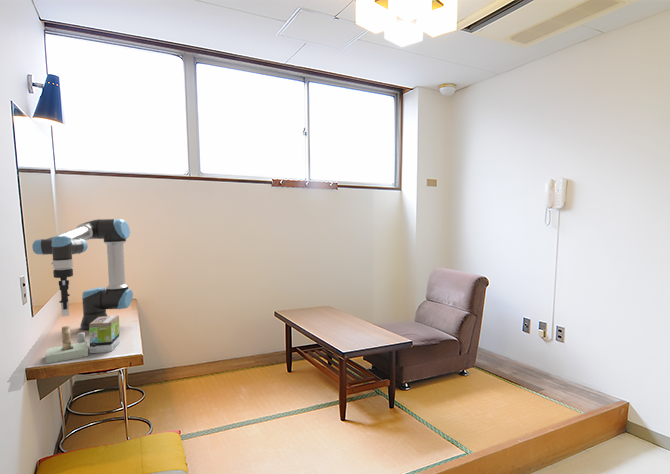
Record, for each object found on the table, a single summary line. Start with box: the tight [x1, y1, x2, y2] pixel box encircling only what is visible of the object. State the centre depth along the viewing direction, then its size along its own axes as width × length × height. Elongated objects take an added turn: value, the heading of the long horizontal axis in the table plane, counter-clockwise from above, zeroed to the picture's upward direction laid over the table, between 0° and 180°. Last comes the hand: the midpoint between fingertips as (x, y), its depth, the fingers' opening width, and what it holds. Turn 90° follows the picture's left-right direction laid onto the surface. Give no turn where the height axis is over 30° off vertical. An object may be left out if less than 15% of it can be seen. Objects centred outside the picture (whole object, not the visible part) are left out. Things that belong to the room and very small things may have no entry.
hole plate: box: [45, 341, 89, 364], centre depth 182 cm, size 16×12×4 cm
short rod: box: [77, 331, 86, 343], centre depth 194 cm, size 3×3×7 cm
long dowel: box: [61, 325, 72, 351], centre depth 181 cm, size 3×3×14 cm
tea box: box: [88, 315, 121, 354], centre depth 192 cm, size 15×10×15 cm, turn 17°
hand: (65, 313), depth 181 cm, fingers open, 13 cm apart
